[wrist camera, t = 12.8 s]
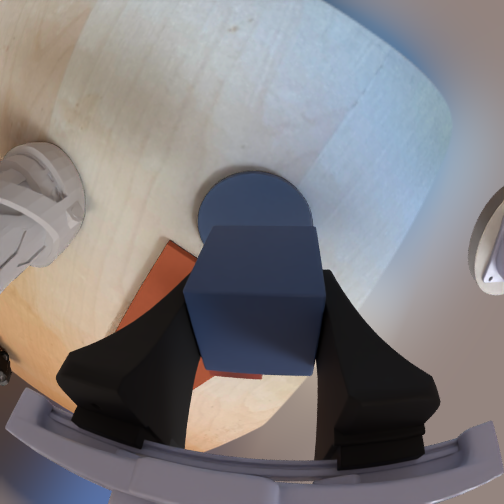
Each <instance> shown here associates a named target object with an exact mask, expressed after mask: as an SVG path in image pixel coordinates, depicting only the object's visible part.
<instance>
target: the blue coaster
mask: <svg viewBox="0 0 504 504" xmlns="http://www.w3.org/2000/svg"><path fill="white" fill-rule="evenodd" d="M213 226H313V220H312V215H311V211H310V208H309V205H308V203H307V201H306V200H305V198H304V197H303V195H302V194H301V193H300V192H299V191H298V189H297V188H296V187H294V186H293V185H292V184H291V183H289V182H288V181H286V180H285V179H283V178H281V177H278V176H276V175H273V174H270V173H266V172H260V171H247V172H240V173H236V174H233V175H230V176H228V177H226V178H224V179H222V180H221V181H219V182H218V183H217V184H215V185H214V186H213V187H212V188H211V189H210V191H209V192H208V193H207V195H206V196H205V198H204V200H203V201H202V204H201V206H200V209H199V214H198V230H199V234H200V237H201V240H202V242H203V244H205V242H206V240H207V238H208V235H209V233H210V231H211V229H212V227H213Z"/></svg>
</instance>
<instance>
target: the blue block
mask: <svg viewBox="0 0 504 504" xmlns="http://www.w3.org/2000/svg"><path fill="white" fill-rule="evenodd" d="M183 294H184V298H185V302H186V305H187V309H188V313H189V316H190V320H191V324H192V327H193V331H194V334H195V338H196V341H197V344H198V348H199V351H200V354H201V358H202V361H203V364H204V367H205V369H206V370H212V371H222V372H233V373H246V374H263V375H290V376H311V375H312V374H313V369H314V364H315V359H316V354H317V349H318V343H319V337H320V332H321V326H322V320H323V313H324V307H325V300H326V291H325V284H324V276H323V269H322V263H321V256H320V250H319V243H318V237H317V231H316V227H314V226H213V227H212V229H211V231H210V233H209V235H208V238H207V240H206V242H205V244H204V246H203V248H202V250H201V252H200V254H199V256H198V259H197V261H196V263H195V265H194V267H193V269H192V272H191V274H190V276H189V278H188V280H187V282H186V285H185V287H184V289H183Z"/></svg>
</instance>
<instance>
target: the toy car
mask: <svg viewBox="0 0 504 504" xmlns="http://www.w3.org/2000/svg"><path fill="white" fill-rule="evenodd" d="M11 373H12V372H11V368H10V361H9V355H8V354H7V352H5V351H1V350H0V385H2V386H4V385H6V384H7V383H8V382H9V380H10V376H11Z"/></svg>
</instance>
